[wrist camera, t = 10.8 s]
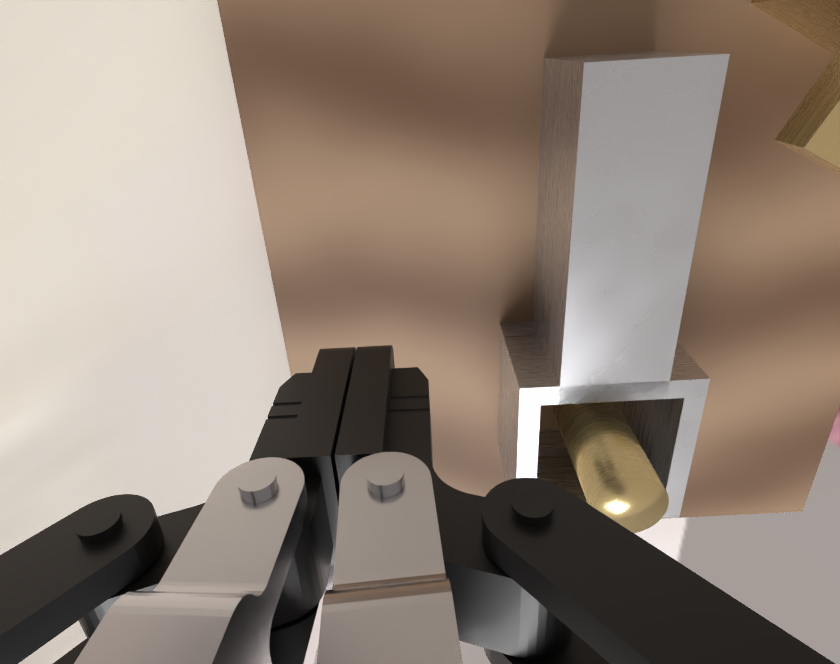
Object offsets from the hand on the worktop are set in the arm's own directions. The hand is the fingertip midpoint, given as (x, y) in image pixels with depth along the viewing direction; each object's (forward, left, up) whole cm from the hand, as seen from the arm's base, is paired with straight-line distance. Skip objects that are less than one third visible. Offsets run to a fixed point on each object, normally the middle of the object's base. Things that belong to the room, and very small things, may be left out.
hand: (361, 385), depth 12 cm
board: (+2, +6, -8) cm, 11 cm away
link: (+1, +6, -7) cm, 9 cm away
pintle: (+5, +6, -7) cm, 11 cm away
